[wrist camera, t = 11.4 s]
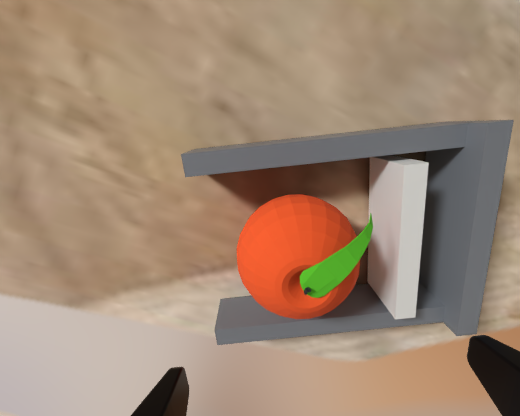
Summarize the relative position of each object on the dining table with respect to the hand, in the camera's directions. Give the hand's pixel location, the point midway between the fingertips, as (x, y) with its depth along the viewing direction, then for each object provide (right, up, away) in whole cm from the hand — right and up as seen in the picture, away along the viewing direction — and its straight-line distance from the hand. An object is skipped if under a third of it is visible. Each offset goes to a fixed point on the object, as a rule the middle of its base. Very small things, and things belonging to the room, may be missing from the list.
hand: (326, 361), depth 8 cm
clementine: (0, +4, +10) cm, 11 cm away
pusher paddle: (+6, +4, +10) cm, 12 cm away
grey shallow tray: (+2, +4, +10) cm, 11 cm away
